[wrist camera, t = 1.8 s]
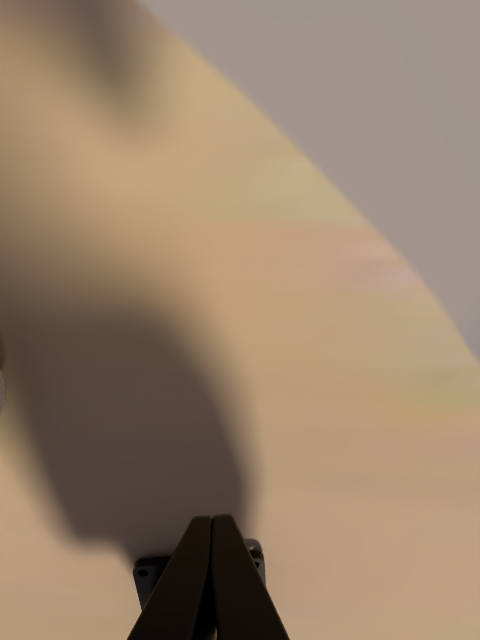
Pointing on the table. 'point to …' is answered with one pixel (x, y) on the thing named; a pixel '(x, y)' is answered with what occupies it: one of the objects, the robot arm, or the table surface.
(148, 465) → the table surface
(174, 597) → the robot arm
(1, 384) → the multicolored petal rattle
